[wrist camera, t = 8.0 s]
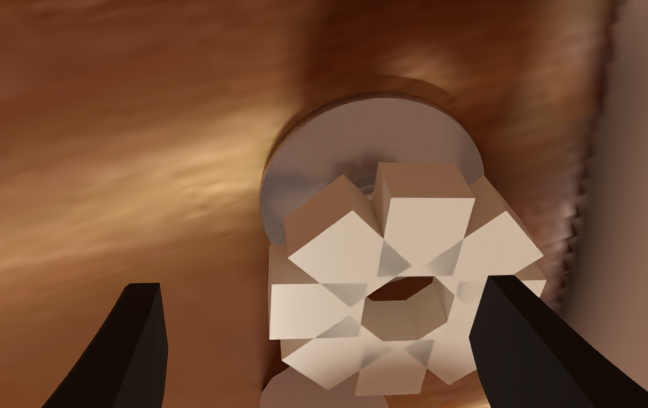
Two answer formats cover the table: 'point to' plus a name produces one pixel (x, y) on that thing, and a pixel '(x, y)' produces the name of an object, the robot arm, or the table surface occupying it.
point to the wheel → (392, 276)
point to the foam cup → (313, 393)
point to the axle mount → (359, 150)
